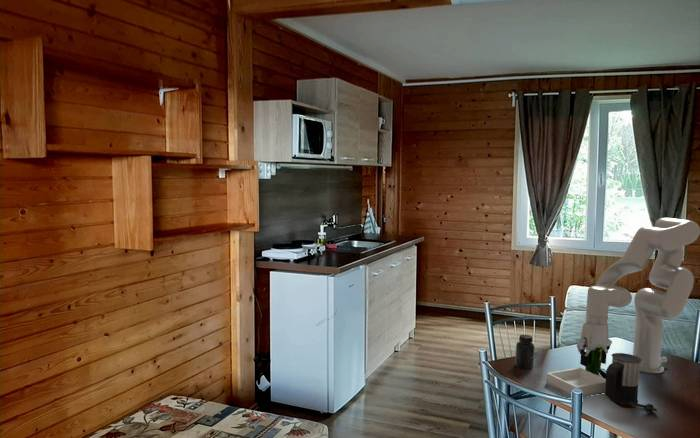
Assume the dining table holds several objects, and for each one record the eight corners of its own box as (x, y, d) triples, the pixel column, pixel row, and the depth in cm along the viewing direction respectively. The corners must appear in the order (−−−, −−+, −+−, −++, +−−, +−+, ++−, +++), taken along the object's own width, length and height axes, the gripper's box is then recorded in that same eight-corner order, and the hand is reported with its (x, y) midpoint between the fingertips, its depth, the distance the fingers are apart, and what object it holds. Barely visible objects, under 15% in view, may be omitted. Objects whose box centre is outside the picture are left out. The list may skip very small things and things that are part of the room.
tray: (579, 378, 207) (579, 367, 206) (610, 392, 194) (611, 381, 194) (545, 383, 200) (546, 373, 200) (575, 399, 188) (576, 387, 187)
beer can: (585, 374, 211) (587, 343, 209) (584, 369, 216) (586, 339, 215) (601, 376, 209) (603, 345, 208) (599, 371, 214) (601, 341, 213)
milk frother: (612, 391, 195) (615, 350, 193) (663, 405, 185) (666, 361, 183) (600, 404, 184) (603, 360, 183) (653, 419, 174) (657, 373, 173)
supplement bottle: (534, 370, 214) (536, 339, 213) (515, 368, 215) (517, 338, 214) (532, 364, 220) (534, 334, 219) (514, 362, 222) (515, 332, 221)
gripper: (605, 315, 217) (601, 358, 219) (571, 318, 210) (568, 363, 212) (621, 320, 210) (617, 364, 212) (587, 323, 203) (583, 370, 205)
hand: (593, 363), depth 212 cm, fingers open, 8 cm apart
